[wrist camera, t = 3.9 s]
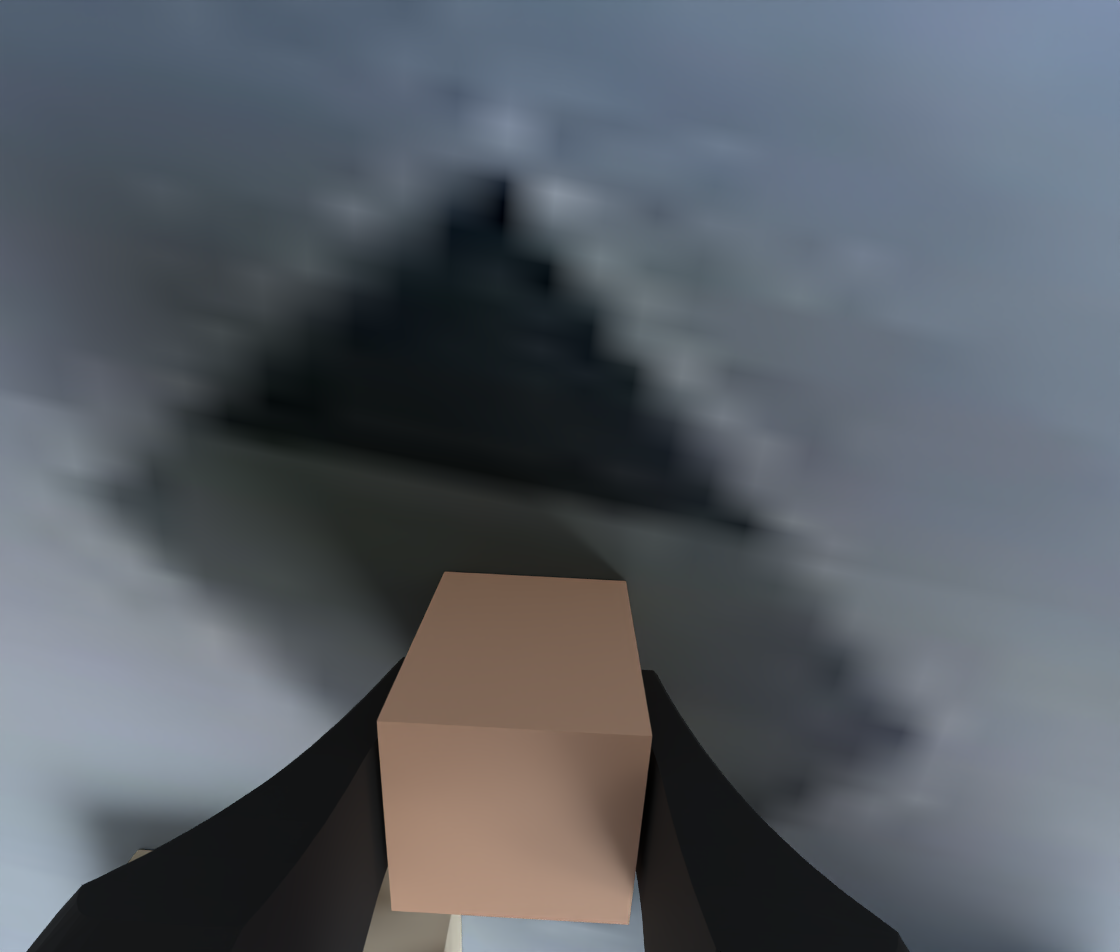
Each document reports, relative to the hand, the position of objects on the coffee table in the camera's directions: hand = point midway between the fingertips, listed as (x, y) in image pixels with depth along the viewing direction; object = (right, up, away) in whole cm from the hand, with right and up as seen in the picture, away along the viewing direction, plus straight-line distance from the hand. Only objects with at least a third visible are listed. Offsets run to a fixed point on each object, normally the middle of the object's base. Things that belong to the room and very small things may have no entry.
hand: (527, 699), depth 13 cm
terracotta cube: (0, +1, +2) cm, 2 cm away
